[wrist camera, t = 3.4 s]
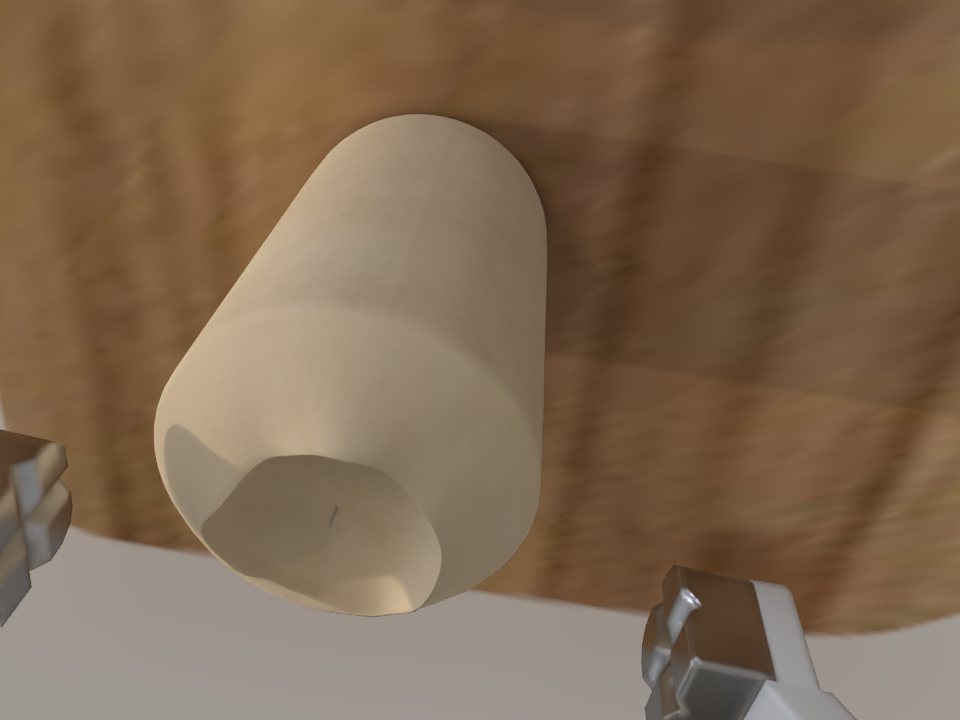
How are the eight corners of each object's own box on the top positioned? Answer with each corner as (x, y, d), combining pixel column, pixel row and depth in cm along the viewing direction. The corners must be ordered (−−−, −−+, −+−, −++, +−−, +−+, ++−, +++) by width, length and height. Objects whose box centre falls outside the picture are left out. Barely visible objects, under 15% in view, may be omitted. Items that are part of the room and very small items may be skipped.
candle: (289, 300, 20) (99, 638, 12) (328, 76, 17) (111, 316, 9) (507, 360, 21) (473, 727, 12) (582, 152, 18) (602, 449, 9)
